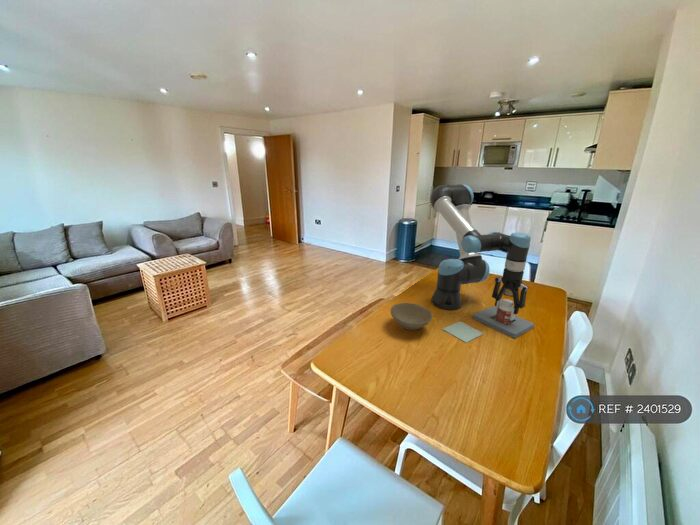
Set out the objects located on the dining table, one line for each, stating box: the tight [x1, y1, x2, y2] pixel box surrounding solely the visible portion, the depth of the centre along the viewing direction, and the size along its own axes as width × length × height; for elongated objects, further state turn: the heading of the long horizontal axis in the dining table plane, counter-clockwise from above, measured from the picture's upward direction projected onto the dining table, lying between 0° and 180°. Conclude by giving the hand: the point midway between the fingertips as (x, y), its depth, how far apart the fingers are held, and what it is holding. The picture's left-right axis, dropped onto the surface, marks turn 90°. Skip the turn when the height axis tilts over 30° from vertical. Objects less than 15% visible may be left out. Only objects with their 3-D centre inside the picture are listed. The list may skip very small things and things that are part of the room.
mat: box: [442, 321, 484, 344], centre depth 122 cm, size 12×12×1 cm
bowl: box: [389, 302, 433, 331], centre depth 124 cm, size 18×18×8 cm
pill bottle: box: [495, 298, 514, 325], centre depth 127 cm, size 6×6×11 cm
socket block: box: [472, 305, 536, 340], centre depth 129 cm, size 20×16×2 cm
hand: (504, 316), depth 127 cm, fingers closed on pill bottle, 6 cm apart
